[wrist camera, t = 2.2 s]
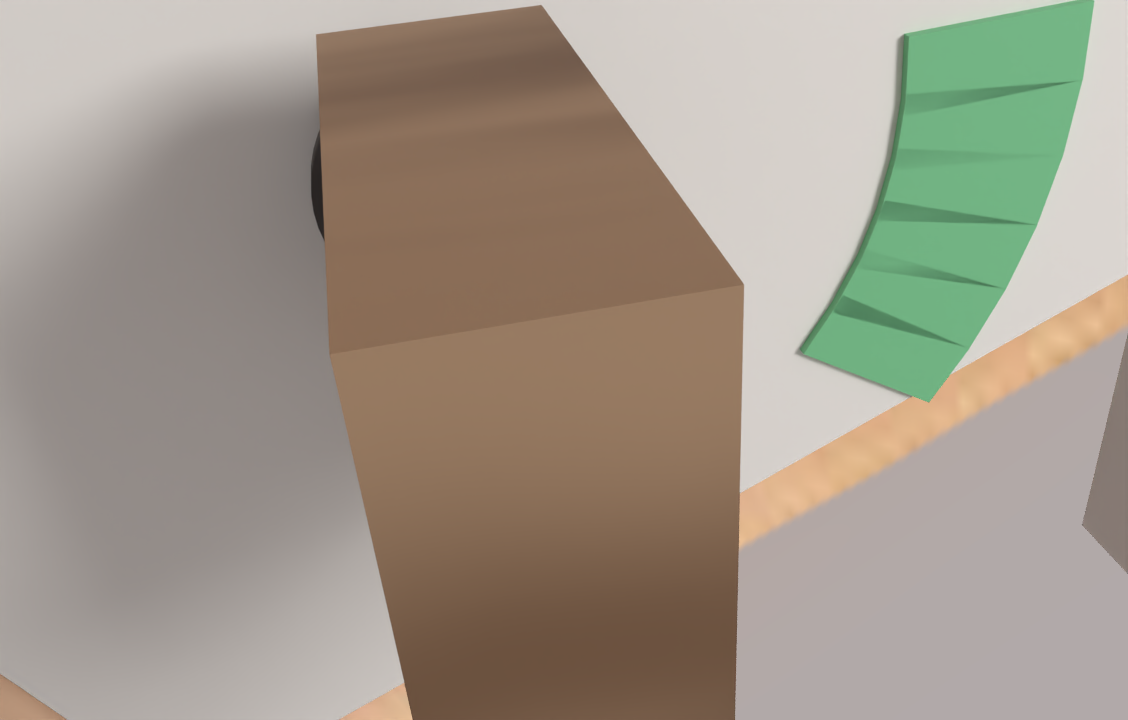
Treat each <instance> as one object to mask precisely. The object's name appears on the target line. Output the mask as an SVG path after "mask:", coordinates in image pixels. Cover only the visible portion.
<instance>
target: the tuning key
mask: <svg viewBox="0 0 1128 720" xmlns="http://www.w3.org/2000/svg"><path fill="white" fill-rule="evenodd" d="M316 48H317V72H318V96H319V120H320V130H319V132H318V135H317V139H316V142H315V145H314V149H313V155H312V162H311V198H312V205H313V212H314V215H315V219H316V222H317V226H318V229H319V231H320V233H321V235H322V237H323V239H324V242H325V263H326V286H327V310H328V334H329V355H330V359H331V364H332V368H333V373H334V377H335V381H336V386H337V390H338V394H339V399H340V403H341V407H342V412H343V416H344V421H345V425H346V429H347V434H348V438H349V442H350V447H351V451H352V456H353V460H354V464H355V469H356V473H357V477H358V482H359V486H360V491H361V495H362V499H363V504H364V508H365V512H366V517H367V521H368V526H369V530H370V534H371V539H372V543H373V547H374V552H375V556H376V561H377V565H378V569H379V574H380V578H381V582H382V587H383V591H384V596H385V600H386V604H387V609H388V613H389V617H390V622H391V626H392V631H393V635H394V639H395V644H396V648H397V652H398V657H399V661H400V665H401V670H402V674H403V679H404V683H405V687H406V692H407V696H408V700H409V705H410V709H411V714H412V718H413V720H735V690H736V643H737V595H738V551H739V504H740V457H741V410H742V364H743V317H744V284H743V282H742V281H741V279H740V278H739V277H738V275H737V274H736V272H735V271H734V270H733V268H732V267H731V266H730V264H729V263H728V261H727V260H726V259H725V257H724V256H723V255H722V253H721V252H720V250H719V249H718V248H717V246H716V245H715V244H714V242H713V241H712V239H711V238H710V237H709V235H708V234H707V232H706V231H705V230H704V228H703V227H702V226H701V224H700V223H699V221H698V220H697V219H696V217H695V216H694V215H693V213H692V212H691V210H690V209H689V208H688V206H687V205H686V204H685V202H684V201H683V199H682V198H681V197H680V195H679V194H678V192H677V191H676V190H675V188H674V187H673V186H672V184H671V183H670V181H669V180H668V179H667V177H666V176H665V175H664V173H663V172H662V170H661V169H660V168H659V166H658V165H657V163H656V162H655V161H654V159H653V158H652V157H651V155H650V154H649V152H648V151H647V150H646V148H645V147H644V146H643V144H642V143H641V141H640V140H639V139H638V137H637V136H636V135H635V133H634V132H633V130H632V129H631V128H630V126H629V125H628V123H627V122H626V121H625V119H624V118H623V117H622V115H621V114H620V112H619V111H618V110H617V108H616V107H615V106H614V104H613V103H612V101H611V100H610V99H609V97H608V96H607V95H606V93H605V92H604V90H603V89H602V88H601V86H600V85H599V83H598V82H597V81H596V79H595V78H594V77H593V75H592V74H591V72H590V71H589V70H588V68H587V67H586V66H585V64H584V63H583V61H582V60H581V59H580V57H579V56H578V55H577V53H576V52H575V50H574V49H573V48H572V46H571V45H570V43H569V42H568V41H567V39H566V38H565V37H564V35H563V34H562V32H561V31H560V30H559V28H558V27H557V26H556V24H555V23H554V21H553V20H552V19H551V17H550V16H549V15H548V13H547V12H546V10H545V9H544V8H543V6H542V5H537V6H530V7H522V8H514V9H507V10H499V11H491V12H484V13H476V14H468V15H460V16H453V17H445V18H437V19H430V20H422V21H414V22H407V23H399V24H391V25H384V26H376V27H368V28H361V29H353V30H345V31H338V32H330V33H322V34H316Z"/></svg>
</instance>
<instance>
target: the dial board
mask: <svg viewBox="0 0 1128 720" xmlns="http://www.w3.org/2000/svg"><path fill="white" fill-rule="evenodd" d="M537 5H542V6H543V8H544V9H545V10H546V12H547V13H548V15H549V16H550V17H551V19H552V20H553V21H554V23H555V24H556V26H557V27H558V28H559V30H560V31H561V32H562V34H563V35H564V37H565V38H566V39H567V41H568V42H569V43H570V45H571V46H572V48H573V49H574V50H575V52H576V53H577V55H578V56H579V57H580V59H581V60H582V61H583V63H584V64H585V66H586V67H587V68H588V70H589V71H590V72H591V74H592V75H593V77H594V78H595V79H596V81H597V82H598V83H599V85H600V86H601V88H602V89H603V90H604V92H605V93H606V95H607V96H608V97H609V99H610V100H611V101H612V103H613V104H614V106H615V107H616V108H617V110H618V111H619V112H620V114H621V115H622V117H623V118H624V119H625V121H626V122H627V123H628V125H629V126H630V128H631V129H632V130H633V132H634V133H635V135H636V136H637V137H638V139H639V140H640V141H641V143H642V144H643V146H644V147H645V148H646V150H647V151H648V152H649V154H650V155H651V157H652V158H653V159H654V161H655V162H656V163H657V165H658V166H659V168H660V169H661V170H662V172H663V173H664V175H665V176H666V177H667V179H668V180H669V181H670V183H671V184H672V186H673V187H674V188H675V190H676V191H677V192H678V194H679V195H680V197H681V198H682V199H683V201H684V202H685V204H686V205H687V206H688V208H689V209H690V210H691V212H692V213H693V215H694V216H695V217H696V219H697V220H698V221H699V223H700V224H701V226H702V227H703V228H704V230H705V231H706V232H707V234H708V235H709V237H710V238H711V239H712V241H713V242H714V244H715V245H716V246H717V248H718V249H719V250H720V252H721V253H722V255H723V256H724V257H725V259H726V260H727V261H728V263H729V264H730V266H731V267H732V268H733V270H734V271H735V272H736V274H737V275H738V277H739V278H740V279H741V281H742V282H743V284H744V317H743V364H742V410H741V457H740V493H741V492H743V491H745V490H747V489H748V488H750V487H752V486H754V485H755V484H757V483H759V482H761V481H762V480H764V479H766V478H768V477H770V476H771V475H773V474H775V473H777V472H778V471H780V470H782V469H784V468H786V467H787V466H789V465H791V464H793V463H794V462H796V461H798V460H800V459H801V458H803V457H805V456H807V455H809V454H810V453H812V452H814V451H816V450H817V449H819V448H821V447H823V446H825V445H826V444H828V443H830V442H832V441H833V440H835V439H837V438H839V437H840V436H842V435H844V434H846V433H848V432H849V431H851V430H853V429H855V428H856V427H858V426H860V425H862V424H864V423H865V422H867V421H869V420H871V419H872V418H874V417H876V416H878V415H879V414H881V413H883V412H885V411H887V410H888V409H890V408H892V407H894V406H895V405H897V404H899V403H901V402H903V401H904V400H906V399H908V398H910V397H911V396H914V397H916V398H919V399H921V400H924V401H927V402H930V400H931V399H932V398H933V396H934V395H935V394H936V392H937V391H938V390H939V388H940V387H941V386H942V385H943V383H944V382H945V381H946V379H947V378H948V377H949V375H950V374H952V373H954V372H956V371H957V370H959V369H961V368H963V367H965V366H966V365H968V364H970V363H972V362H973V361H975V360H977V359H979V358H981V357H982V356H984V355H986V354H988V353H989V352H991V351H993V350H995V349H996V348H998V347H1000V346H1002V345H1004V344H1005V343H1007V342H1009V341H1011V340H1012V339H1014V338H1016V337H1018V336H1020V335H1021V334H1023V333H1025V332H1027V331H1028V330H1030V329H1032V328H1034V327H1035V326H1037V325H1039V324H1041V323H1043V322H1044V321H1046V320H1048V319H1050V318H1051V317H1053V316H1055V315H1057V314H1059V313H1060V312H1062V311H1064V310H1066V309H1067V308H1069V307H1071V306H1073V305H1075V304H1076V303H1078V302H1080V301H1082V300H1083V299H1085V298H1087V297H1089V296H1090V295H1092V294H1094V293H1096V292H1098V291H1099V290H1101V289H1103V288H1105V287H1106V286H1108V285H1110V284H1112V283H1114V282H1115V281H1117V280H1119V279H1121V278H1122V277H1124V276H1126V275H1128V0H0V674H1V675H3V676H4V677H6V678H7V679H9V680H10V681H12V682H13V683H14V684H16V685H17V686H19V687H20V688H22V689H23V690H25V691H26V692H28V693H29V694H31V695H32V696H33V697H35V698H36V699H38V700H39V701H41V702H42V703H44V704H45V705H47V706H48V707H50V708H51V709H52V710H54V711H55V712H57V713H58V714H60V715H61V716H63V717H64V718H66V719H67V720H339V719H341V718H342V717H344V716H346V715H348V714H349V713H351V712H353V711H355V710H356V709H358V708H360V707H362V706H364V705H365V704H367V703H369V702H371V701H372V700H374V699H376V698H378V697H380V696H381V695H383V694H385V693H387V692H388V691H390V690H392V689H394V688H395V687H397V686H399V685H401V684H403V683H404V679H403V674H402V670H401V665H400V661H399V657H398V652H397V648H396V644H395V639H394V635H393V631H392V626H391V622H390V617H389V613H388V609H387V604H386V600H385V596H384V591H383V587H382V582H381V578H380V574H379V569H378V565H377V561H376V556H375V552H374V547H373V543H372V539H371V534H370V530H369V526H368V521H367V517H366V512H365V508H364V504H363V499H362V495H361V491H360V486H359V482H358V477H357V473H356V469H355V464H354V460H353V456H352V451H351V447H350V442H349V438H348V434H347V429H346V425H345V421H344V416H343V412H342V407H341V403H340V399H339V394H338V390H337V386H336V381H335V377H334V373H333V368H332V364H331V359H330V355H329V334H328V310H327V286H326V263H325V242H324V239H323V237H322V235H321V233H320V231H319V229H318V226H317V222H316V219H315V215H314V212H313V205H312V198H311V162H312V155H313V149H314V145H315V142H316V139H317V135H318V132H319V130H320V120H319V96H318V72H317V48H316V34H322V33H330V32H338V31H345V30H353V29H361V28H368V27H376V26H384V25H391V24H399V23H407V22H414V21H422V20H430V19H437V18H445V17H453V16H460V15H468V14H476V13H484V12H491V11H499V10H507V9H514V8H522V7H530V6H537Z"/></svg>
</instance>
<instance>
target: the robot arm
mask: <svg viewBox="0 0 1128 720" xmlns="http://www.w3.org/2000/svg"><path fill="white" fill-rule="evenodd" d="M1082 525H1083V526H1084V527H1085V529H1087V531H1088V532H1089V533H1090V534H1091V535H1092V536H1093V537H1094V538H1095V539H1096V540H1097V541H1098V543H1099V544H1100V545H1102V547H1103V548H1104V549H1105V550H1106V551H1107V552H1108V553H1109V554H1110V555H1111V556H1112V557H1113V558H1114V560H1115V561H1116V562H1117V563H1118V564H1119V565H1120V566H1121V567H1122V568H1123V569H1124V570H1125V571H1126V572H1127V574H1128V336H1127V340H1126V344H1125V348H1124V352H1123V357H1122V361H1121V365H1120V369H1119V373H1118V377H1117V382H1116V386H1115V390H1114V394H1113V398H1112V403H1111V407H1110V411H1109V415H1108V419H1107V423H1106V428H1105V432H1104V436H1103V441H1102V444H1101V449H1100V453H1099V457H1098V461H1097V465H1096V470H1095V474H1094V478H1093V482H1092V486H1091V491H1090V495H1089V499H1088V503H1087V507H1086V511H1085V515H1084V520H1083V524H1082Z"/></svg>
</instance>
